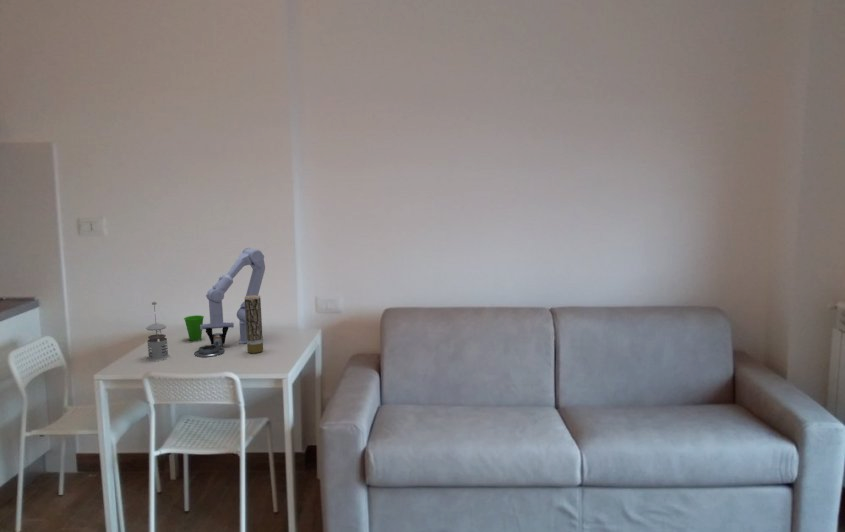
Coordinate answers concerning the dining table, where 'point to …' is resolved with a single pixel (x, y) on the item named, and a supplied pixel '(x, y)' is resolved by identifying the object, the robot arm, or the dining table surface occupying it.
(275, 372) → the dining table surface
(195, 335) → the cup
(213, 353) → the flange ring
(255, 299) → the paper tube
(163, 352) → the french press
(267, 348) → the dining table surface
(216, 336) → the silver metal canister
